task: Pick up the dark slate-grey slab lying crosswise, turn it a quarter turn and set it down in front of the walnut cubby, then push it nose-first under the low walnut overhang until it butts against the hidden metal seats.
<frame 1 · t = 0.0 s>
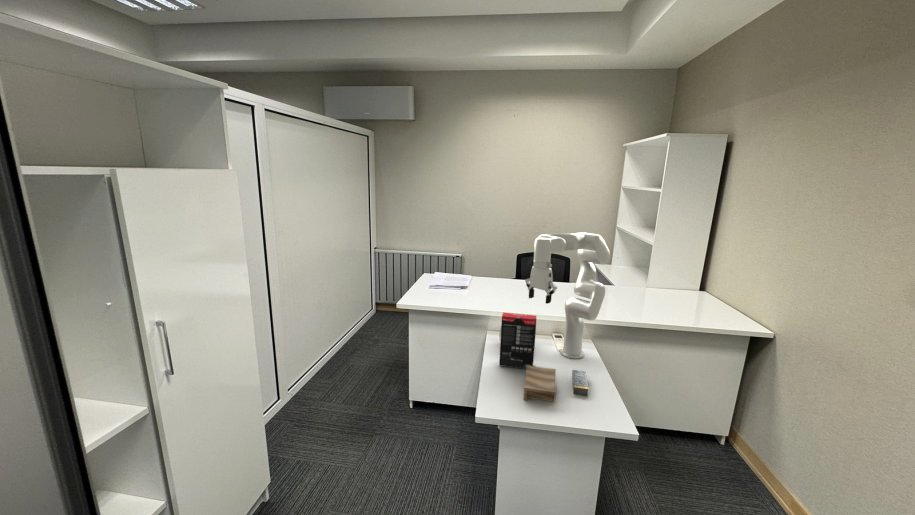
hand: (539, 300, 175), 37 cm above the table, tool pointing down, fingers open, 9 cm apart
graphics card box: (516, 366, 190), on the table
alarm clock: (515, 346, 212), on the table
slab: (579, 385, 172), on the table
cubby: (543, 390, 167), on the table
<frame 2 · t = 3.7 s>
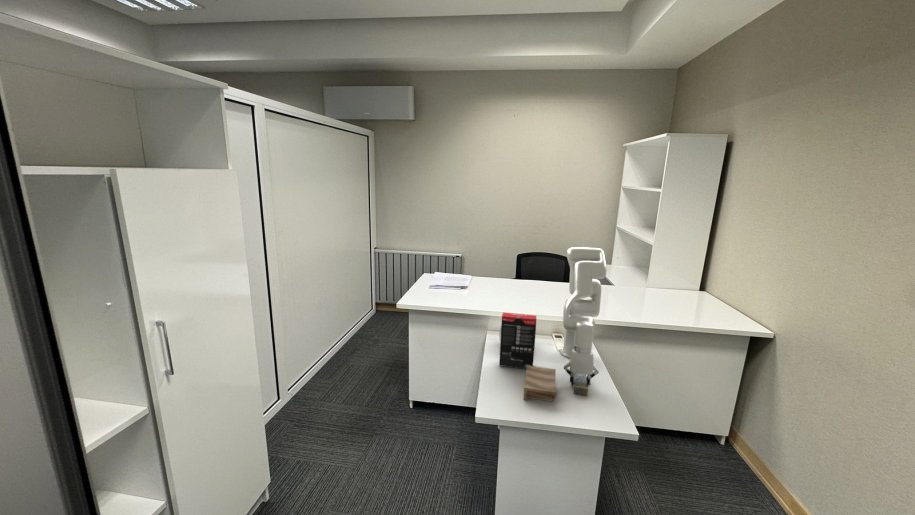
hand: (579, 384, 172), 1 cm above the table, tool pointing down, fingers closed on slab, 6 cm apart
slab: (579, 385, 172), on the table, touching gripper
everything else where it was.
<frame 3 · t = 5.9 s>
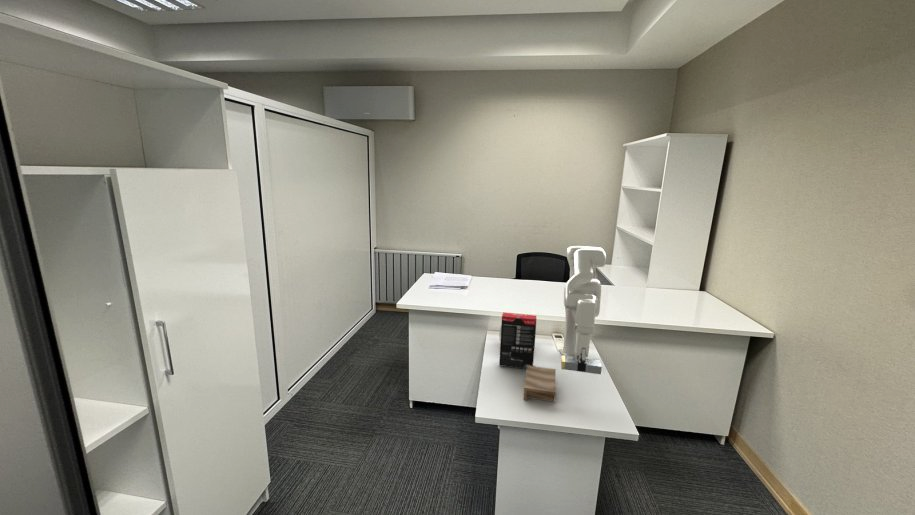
hand: (580, 367, 161), 14 cm above the table, tool pointing down, fingers closed on slab, 6 cm apart
slab: (580, 368, 161), point 13 cm above the table, touching gripper
everything else where it was.
when the fingers open (2 cm above the table, at t = 8.4 s): slab drops 2 cm, on the table.
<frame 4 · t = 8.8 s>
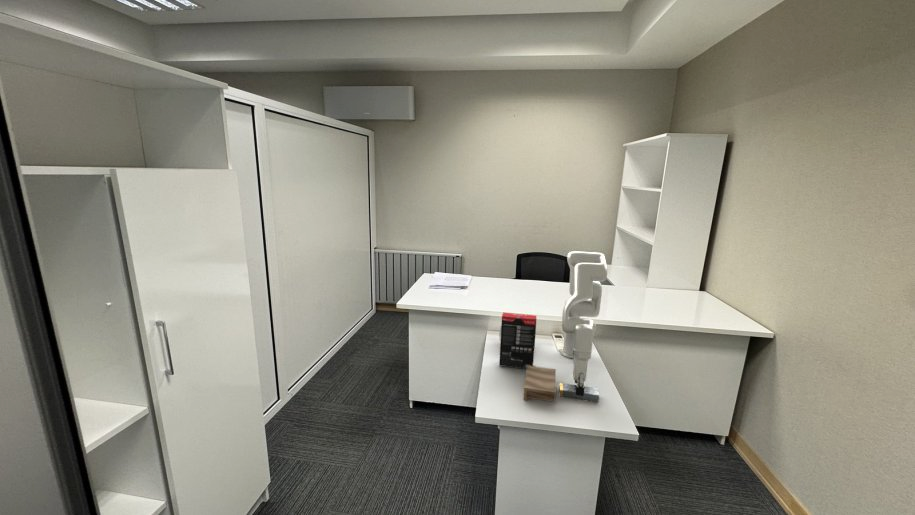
hand: (578, 389, 163), 3 cm above the table, tool pointing down, fingers open, 9 cm apart
slab: (578, 396, 164), on the table
everything else where it was.
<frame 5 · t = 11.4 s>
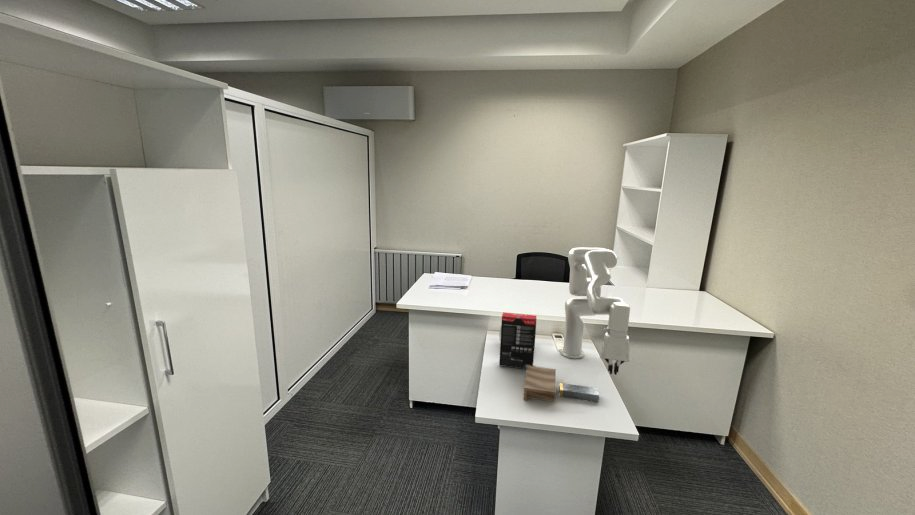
hand: (612, 372, 158), 13 cm above the table, tool pointing down, fingers closed
nothing on the table moved.
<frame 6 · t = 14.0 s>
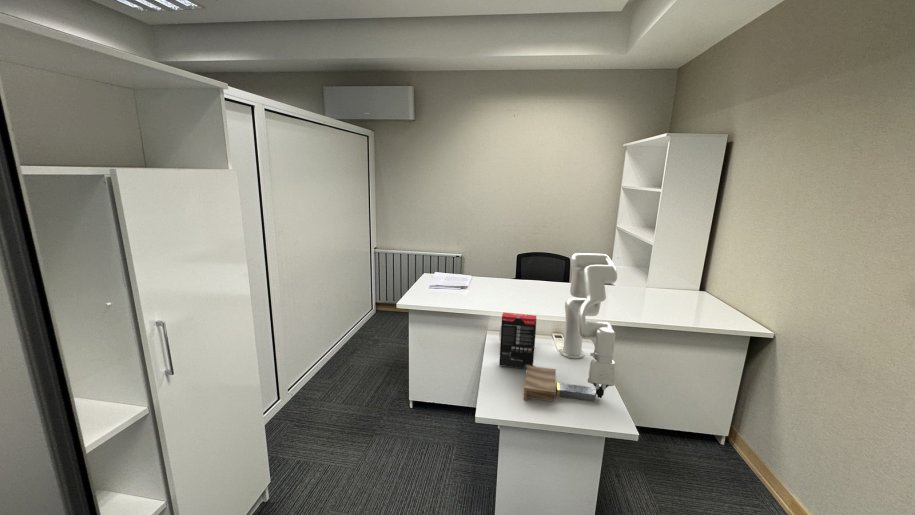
hand: (599, 396, 161), 1 cm above the table, tool pointing down, fingers closed
slab: (575, 395, 164), on the table, touching gripper
everything else where it was.
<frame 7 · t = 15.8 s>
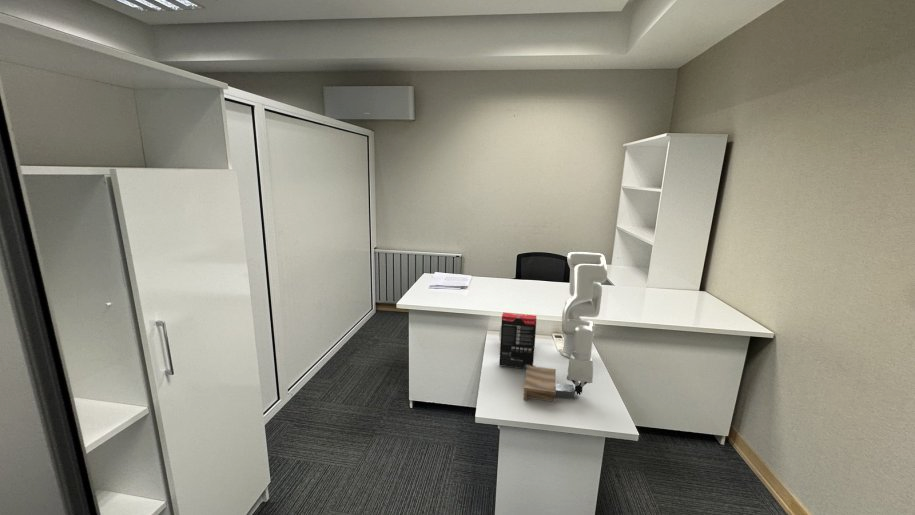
hand: (578, 393, 163), 1 cm above the table, tool pointing down, fingers closed
slab: (554, 393, 165), on the table, touching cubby, gripper
everything else where it was.
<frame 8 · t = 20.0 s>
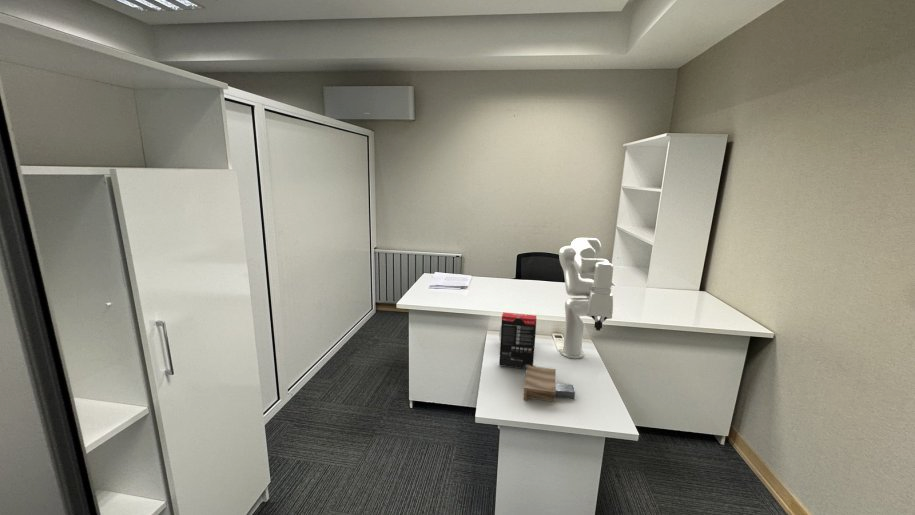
hand: (597, 329, 168), 27 cm above the table, tool pointing down, fingers closed
slab: (554, 394, 165), on the table
everything else where it was.
at the end: slab 1.1 cm from the target spot on the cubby, point 0.0 cm above the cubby's base; slab tilted 0°; the gripper is holding nothing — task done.
